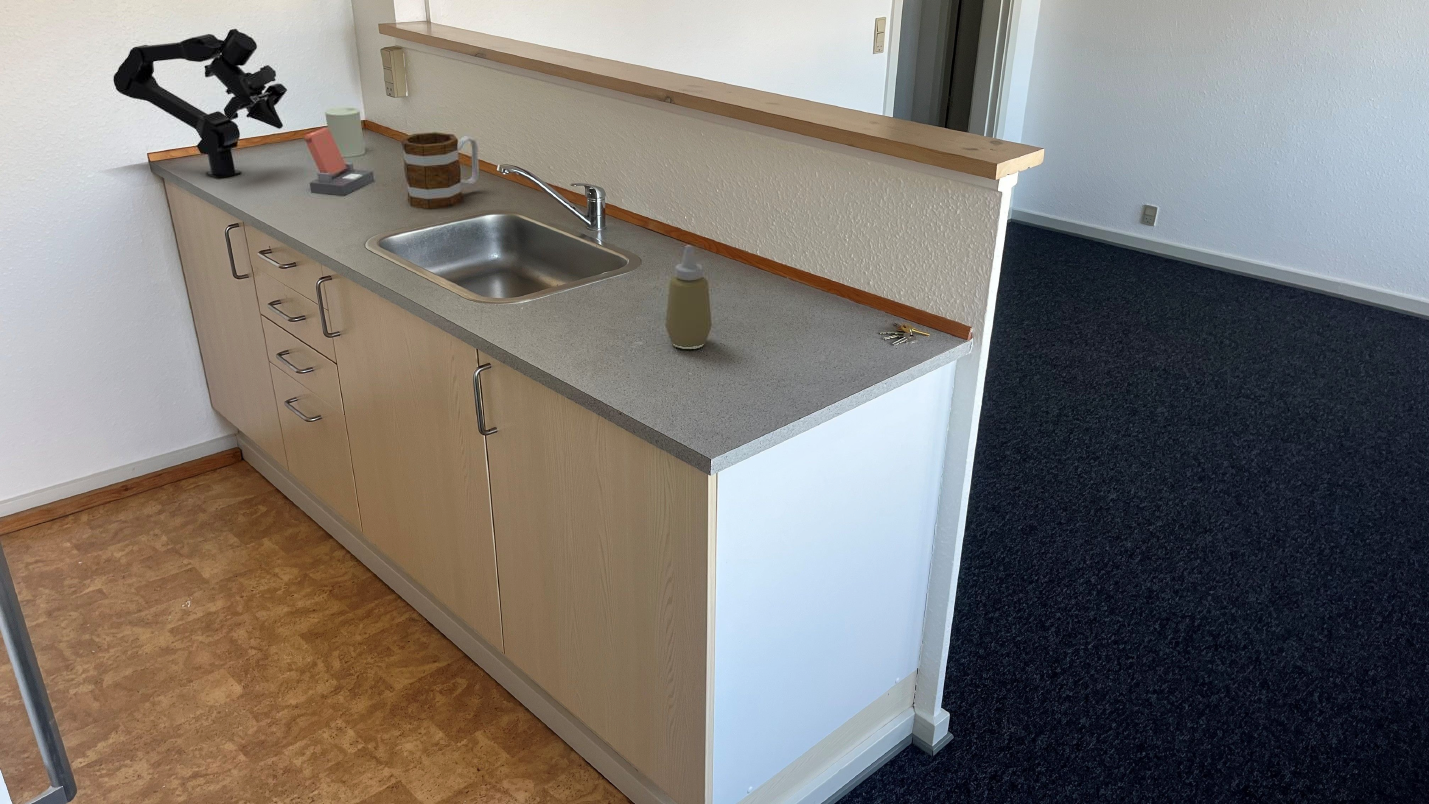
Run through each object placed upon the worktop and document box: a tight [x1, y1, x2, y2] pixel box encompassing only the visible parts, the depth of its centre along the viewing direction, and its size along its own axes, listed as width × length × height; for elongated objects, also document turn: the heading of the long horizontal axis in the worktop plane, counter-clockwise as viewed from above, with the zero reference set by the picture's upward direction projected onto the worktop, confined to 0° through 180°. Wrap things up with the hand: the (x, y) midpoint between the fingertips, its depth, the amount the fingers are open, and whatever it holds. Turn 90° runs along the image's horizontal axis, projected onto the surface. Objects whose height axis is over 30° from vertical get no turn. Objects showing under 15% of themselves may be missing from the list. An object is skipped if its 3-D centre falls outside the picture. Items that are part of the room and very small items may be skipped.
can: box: [324, 107, 366, 158], centre depth 291 cm, size 9×9×12 cm
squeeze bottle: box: [664, 244, 713, 347], centre depth 181 cm, size 8×8×18 cm
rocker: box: [304, 126, 347, 175], centre depth 262 cm, size 2×8×11 cm, turn 164°
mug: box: [400, 131, 480, 210], centre depth 254 cm, size 20×14×15 cm
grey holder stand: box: [309, 162, 375, 197], centre depth 264 cm, size 9×14×4 cm, turn 165°
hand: (281, 127), depth 262 cm, fingers closed
